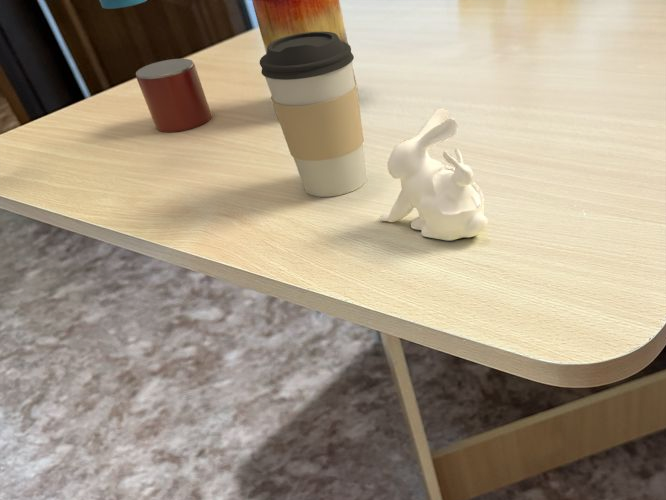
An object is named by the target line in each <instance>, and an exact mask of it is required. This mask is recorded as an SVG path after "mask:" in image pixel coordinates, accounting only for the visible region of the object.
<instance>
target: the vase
mask: <svg viewBox="0 0 666 500" xmlns="http://www.w3.org/2000/svg"><path fill="white" fill-rule="evenodd" d="M251 1H252V5H253V9H254V13H255V18H256V21H257V25H258V27H259V32H260V35H261V39H262V44H263V47H264V50H265V54H267V46H268V45H269V44H270V43H272V42H273V41H275V40H278V39H280V38H283V37H287V36H291V35H295V34H300V33H307V32H332V33H335V34H337V36H338V37H339V39H340V40H341V41H342V42H345V43H347V44H349V41H348V36H347V31H346V26H345V20H344V16H343V11H342V7H341V1H340V0H251ZM353 72H354V73H355V71H354V70H353ZM354 80H355V81H356V76H355V75H354ZM357 92H358V90H357ZM358 93H359V92H358Z"/></svg>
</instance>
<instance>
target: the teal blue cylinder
mask: <svg viewBox="0 0 666 500" xmlns="http://www.w3.org/2000/svg"><path fill="white" fill-rule="evenodd" d="M147 1H148V0H99V3H100V6H101V8H102V9H108V10H111V9H122V8H127V7H132V6H137V5H140V4H143V3H146V2H147Z"/></svg>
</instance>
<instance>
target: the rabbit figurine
mask: <svg viewBox="0 0 666 500" xmlns="http://www.w3.org/2000/svg"><path fill="white" fill-rule="evenodd" d="M449 115H450V114H449V111H448V110H447V108H444V107H439V108H437V109H435V110H434V111H433V112H432V113H431V115H430V116H429V118H428V119H427V120H426V122H425V123H424V124H423V126H422V127H421V128H420V129H419V131H418V133H417V134H416V135H415V136H413V137H412V138H410V139H407V140H403V141H401V142H399V143H397V145H395V146H394V148H393V149H392V150H391V153H390V155H389V157H388V160H387V164H386V165H387V171H388V173H389V175H390V176H391V177H392V178H393V179H397V180H400V183H401V189H400V192H399V194H398V196H397V197H396V199H395V202H394V204H393V205H392V207H391V209H390V212H389V213H383V214H382V215H379V217H378V218H377V220H378V221H379V222H389V223H395V222H397V221H400V220H403V219H404V218H406V217H407V216H409V214H411V213H412V212H413V210H414V208H415V209H416V210H417V212H418V217H416V218H415V217H414V219H412V221H411V223H410V228H412V229H413V230H418V231H421V235H422V236H423V237H424V238H425V237H426V238H432V239H437V240H442V241H455V240H458V239H459V240H460V239H462V238H472V237H473V238H474V237H477V236H478V235H480V234H483V232H485V230H486V229H487V227H488V223H489V222H488V221H489V220H488V217H487V216H485V215H484V213H485V195H484V193H483V191H482V190H481V188H480V187H479V185H478V184H477V183H476V182H475V181H474V172H473V170H472V168H471V167H470V166H469V165H467V164H466V163H464V160H463V156H462V153H461V151H460V149H459V148H455V149H454V154H455V157H456V158H454V157H453V156H452V155H451V154H449V153H448V152H447V151H446V150H443V152H442V158H443V159H444V160H445V162H447V163H448V164H450V165H446V164H443V163H441V161H439V160H437V159H433V158H432V157H430V156H431V155H430V154H429V152H428V150H429V149H431V148H432V147H434V146H436V145H438V144H442V143H444V142H446V141H447V140H449V139H451V138H452V137H454V136H455V135H456V134H457V131H458V130H459V124H458V122H457V121H456V119H455V118H453V117H450V118H449Z"/></svg>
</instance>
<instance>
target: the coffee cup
mask: <svg viewBox="0 0 666 500" xmlns="http://www.w3.org/2000/svg"><path fill="white" fill-rule="evenodd" d="M354 58H355V56H354V54H353V53H352V46H351V45H350V44H349V43H348V44H347V43H345V42H342V41H341V40H340V39H339V37H338V36H337V34H335V33H332V32H307V33H300V34H295V35H291V36H287V37H283V38H280V39H278V40H275V41H273V42H272V43H270V44H269V45H268V46H267V54H266V53H265V54H264V55H263V56H262V57H260V59H259V66H260V68H261V72H260V73H261V75H262V76H263V77H264V78H265V81H266V83H267V86H268V89H269V92H270V94H271V96H270V100H271V103H272V106H273V108H274V111H275V114H276V116H277V117H276V118H277V121H278V122H279V126H280V128H281V131H282V134H283V136H284V137H283V138H284V139H285V142H286V144H287V148H288V151H289V153H290V155H291V156H292V157H293V160H294V163H295V165H296V168H297V171H298V174H299V178H300V180H301V183H302V185H303V188H304V191H305V192H306V194H308V195H311V196H314V197H322V198H325V197H329V198H330V197H338V196H341V195H346V194H349V193H352V192H354V191H356V190H358V189H360V188H362V187H363V186H364V185H365V184H366V182H367V181H368V174H367V173H368V171H367V164H366V157H365V149H364V142H365V141H364V140H365V138H364V131H363V123H362V117H361V107H360V99H359V92H357V91H358V85H357V81H356V79H355V80H354V76H355V71H354V66H353V65H354V64H353V61H354ZM353 71H354V72H353Z"/></svg>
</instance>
